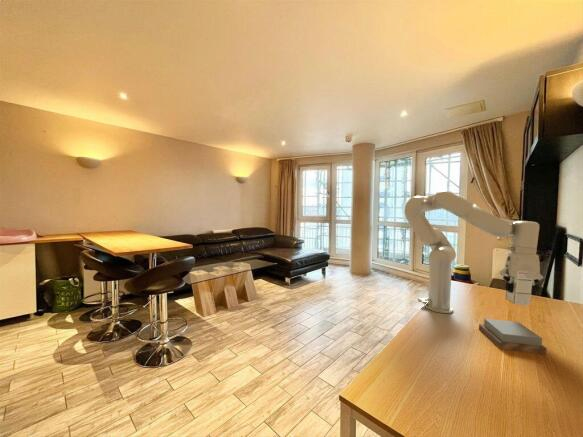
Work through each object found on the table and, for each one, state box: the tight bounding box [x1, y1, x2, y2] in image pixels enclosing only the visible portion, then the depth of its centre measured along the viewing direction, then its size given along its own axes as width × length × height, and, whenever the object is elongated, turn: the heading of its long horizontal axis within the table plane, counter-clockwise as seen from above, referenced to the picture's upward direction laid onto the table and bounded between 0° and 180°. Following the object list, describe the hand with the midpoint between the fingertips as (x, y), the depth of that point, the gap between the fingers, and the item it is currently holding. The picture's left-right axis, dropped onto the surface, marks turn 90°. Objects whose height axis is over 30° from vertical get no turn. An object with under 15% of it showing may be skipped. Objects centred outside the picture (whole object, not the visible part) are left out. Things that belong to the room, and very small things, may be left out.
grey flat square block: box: [478, 323, 547, 355], centre depth 92 cm, size 14×14×3 cm
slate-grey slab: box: [483, 318, 543, 346], centre depth 92 cm, size 12×12×3 cm
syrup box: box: [505, 271, 533, 306], centre depth 99 cm, size 6×6×14 cm
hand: (518, 292), depth 100 cm, fingers closed on syrup box, 5 cm apart
